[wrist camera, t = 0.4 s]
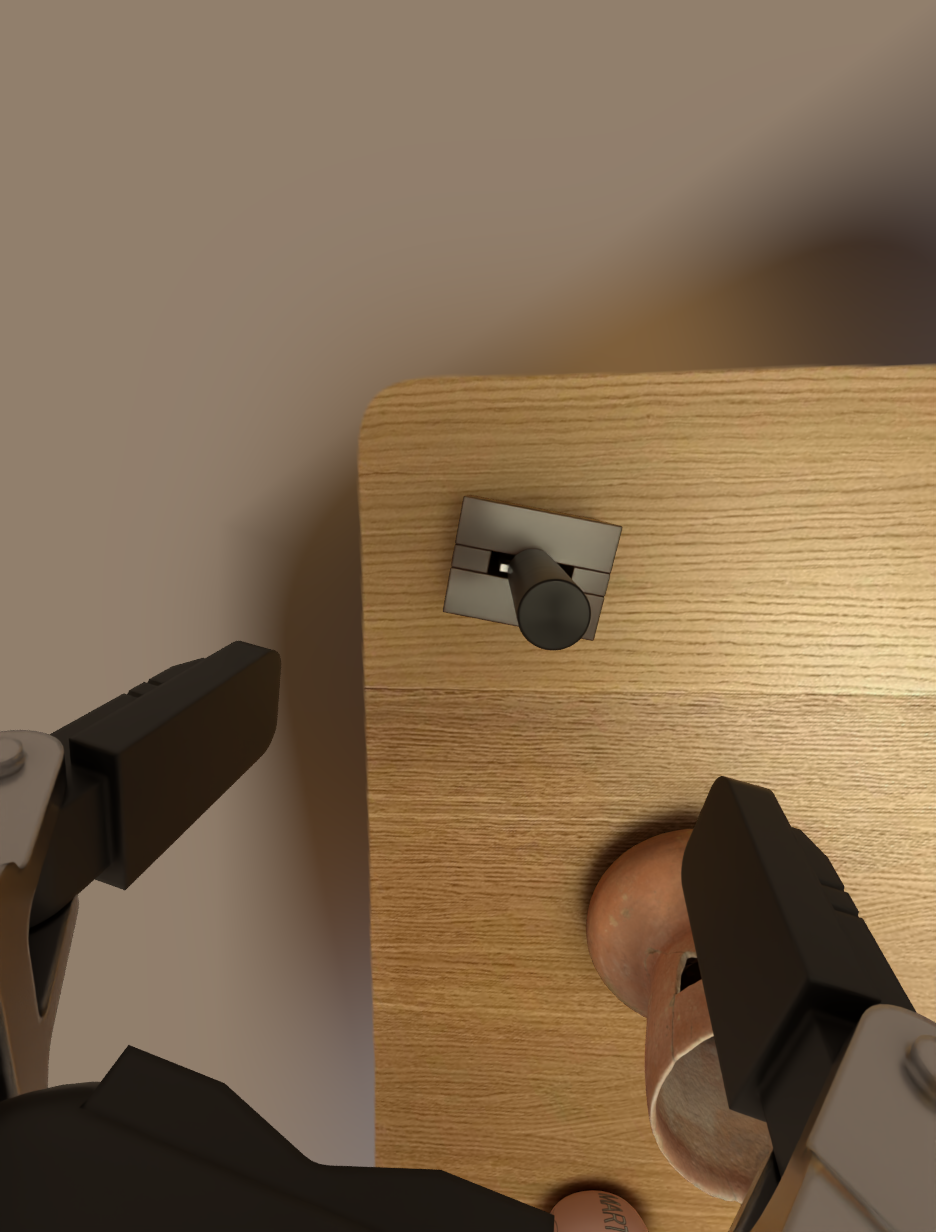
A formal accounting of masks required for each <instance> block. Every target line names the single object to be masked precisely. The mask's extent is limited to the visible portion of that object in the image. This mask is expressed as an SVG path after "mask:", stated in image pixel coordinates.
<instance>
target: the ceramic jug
mask: <svg viewBox="0 0 936 1232" xmlns="http://www.w3.org/2000/svg"><path fill="white" fill-rule="evenodd" d="M692 831H693V829H682V830H676V831H671V832H667V833H663V834H660V835H657V836H654V837H651V838H649V839H647V840H645V841H643V842H641V843H639V844H637V845H635V846H634V847H632V848H630V849H629V850H627V851H626V852H625V853H623V854H622V855H621V856H620V857H619V858H618V859H617V860H615V862H613V864H612V865H611V866H610V867H609V868H608V869H607V870H606V872H605V873H604V874H603V876H602V877H601V879H600V881H599V882H598V884H597V886H596V888H595V890H594V892H593V895H592V897H591V901H590V904H589V908H588V914H587V923H586V932H587V943H588V948H589V952H590V956H591V959H592V961H593V964H594V966H595V968H596V970H597V972H598V974H599V975H600V977H601V979H602V980H603V982H604V983H605V984H606V986H607V987H608V988H609V989H610V990H611V991H612V993H613V994H614V995H615V996H616V997H617V998H618V999H619V1000H621V1001H622V1002H623V1003H624V1004H625V1005H627V1006H628V1007H629V1008H631V1009H632V1010H634V1011H635V1012H637V1013H639V1014H640V1015H642V1016H644V1017H646V1018H647V1028H646V1043H645V1080H646V1095H647V1105H648V1113H649V1119H650V1124H651V1128H652V1132H653V1134H654V1137H655V1139H656V1142H657V1144H658V1146H659V1148H660V1150H661V1152H662V1154H663V1155H664V1156H665V1157H666V1158H667V1160H668V1162H669V1163H670V1164H671V1165H672V1166H673V1168H674V1169H675V1170H676V1171H678V1172H679V1173H680V1174H681V1175H682V1176H683V1177H684V1178H685V1179H686V1180H687V1181H688V1182H690V1183H692V1184H693V1185H694V1186H696V1187H697V1188H699V1189H700V1190H702V1191H704V1192H705V1193H707V1194H709V1195H711V1196H713V1197H717V1198H720V1199H723V1200H726V1201H737V1202H739V1203H741V1204H742V1203H743V1200H744V1198H745V1196H746V1194H747V1192H748V1190H749V1188H750V1186H751V1184H752V1182H753V1180H754V1178H755V1176H756V1174H757V1172H758V1170H759V1168H760V1166H761V1164H762V1162H763V1160H764V1159H765V1157H766V1156H767V1155H768V1153H769V1152H770V1150H771V1149H772V1147H773V1146H772V1142H771V1138H770V1134H769V1130H768V1127H767V1123H766V1122H763V1121H761V1120H758V1119H755V1118H752V1117H749V1116H747V1115H744V1114H741V1113H738V1112H735V1111H733V1110H730V1109H729V1106H728V1101H727V1097H726V1092H725V1087H724V1082H723V1078H722V1073H721V1068H720V1063H719V1059H718V1054H717V1049H716V1045H715V1040H714V1035H713V1030H712V1026H711V1021H710V1016H709V1011H708V1007H707V1002H706V997H705V993H704V988H703V983H702V978H701V974H700V969H699V964H698V960H697V955H696V950H695V945H694V941H693V936H692V931H691V926H690V922H689V917H688V912H687V908H686V903H685V898H684V893H683V889H682V882H681V867H682V860H683V855H684V851H685V848H686V845H687V842H688V840H689V838H690V835H691V833H692Z"/></svg>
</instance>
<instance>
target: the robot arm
mask: <svg viewBox="0 0 936 1232" xmlns="http://www.w3.org/2000/svg"><path fill="white" fill-rule="evenodd" d="M280 671H281V659H280V655H279V653H278V652H276V651H275V650H271V649H267V648H264V647H260V646H256V645H253V644H249V643H246V642H242V641H235V642H233V643H231V644H230V645H228V646H226V647H224V648H222V649H221V650H219V651H217V652H216V653H214V654H212V655H211V656H209V657H207V658H201V659H197V660H194V661H190V662H186V663H183V664H179V665H176V666H172V667H170V668H169V669H167V670H165V671H164V672H161V673H160V674H158V675H156V676H154V677H152V678H151V679H149V681H148V683H145V682H143V683H142V684H140V685H138V686H136V687H134V688H133V689H131V690H129V692H128V694H122V695H120V696H119V697H117V698H115V699H113V700H111V701H109V702H107V703H106V704H104V705H102V706H100V707H99V708H97V709H95V710H93V711H91V712H89V713H88V714H86V715H84V716H82V717H80V718H79V719H77V720H75V721H73V722H71V723H70V724H68V725H66V726H64V727H62V728H61V729H59V730H57V731H55V732H53V733H52V734H50V735H49V734H46V733H42V732H37V731H28V730H11V731H1V732H0V1232H554V1218H555V1215H552V1214H550V1213H547V1212H545V1211H542V1210H540V1209H537V1208H535V1207H532V1206H530V1205H527V1204H525V1203H522V1202H520V1201H517V1200H515V1199H512V1198H510V1197H507V1196H505V1195H502V1194H500V1193H497V1192H495V1191H492V1190H490V1189H487V1188H485V1187H482V1186H480V1185H477V1184H475V1183H472V1182H470V1181H467V1180H465V1179H462V1178H460V1177H457V1176H455V1175H452V1174H450V1173H447V1172H445V1171H442V1170H432V1169H406V1168H380V1167H352V1166H329V1165H322V1164H318V1163H316V1162H313V1161H311V1160H310V1159H308V1158H307V1157H306V1156H304V1155H303V1154H302V1153H301V1152H300V1151H299V1150H298V1149H297V1148H295V1147H294V1146H293V1145H292V1144H291V1143H290V1142H289V1141H288V1140H286V1138H284V1137H283V1136H282V1135H281V1134H280V1133H279V1132H278V1131H277V1130H276V1129H274V1128H273V1127H272V1126H271V1125H270V1124H269V1123H268V1122H267V1121H266V1120H265V1119H263V1118H262V1117H261V1116H260V1115H259V1114H258V1113H257V1112H256V1111H254V1110H253V1109H252V1108H251V1107H250V1106H249V1105H248V1104H247V1103H246V1102H245V1101H244V1100H242V1099H241V1098H240V1097H239V1096H238V1095H237V1094H236V1093H235V1092H234V1091H232V1090H231V1089H230V1088H229V1087H228V1086H227V1085H226V1084H225V1083H222V1082H220V1081H218V1080H215V1079H213V1078H210V1077H207V1076H205V1075H203V1074H200V1073H198V1072H195V1071H193V1070H190V1069H187V1068H185V1067H183V1066H180V1065H177V1064H175V1063H173V1062H170V1061H168V1060H165V1059H162V1058H160V1057H158V1056H155V1055H152V1054H150V1053H148V1052H145V1051H142V1050H140V1049H138V1048H135V1047H133V1046H130V1045H128V1047H127V1048H126V1049H125V1050H124V1052H123V1053H122V1054H121V1056H120V1057H119V1058H118V1060H117V1061H116V1062H115V1064H114V1065H113V1066H112V1068H111V1069H110V1071H109V1072H108V1073H107V1074H106V1076H105V1077H104V1078H103V1080H102V1081H101V1082H86V1083H76V1084H66V1085H60V1086H55V1087H51V1088H48V1063H49V1062H48V1061H49V1051H50V1043H51V1037H52V1031H53V1026H54V1022H55V1017H56V1012H57V1007H58V1003H59V998H60V994H61V988H62V984H63V980H64V975H65V970H66V966H67V960H68V956H69V951H70V947H71V942H72V937H73V933H74V928H75V924H76V919H77V914H78V908H79V900H78V894H79V893H80V892H81V891H82V890H83V889H84V888H85V887H86V886H88V885H89V884H90V883H91V882H92V881H93V880H94V879H95V880H98V881H101V882H104V883H106V884H109V885H112V886H115V887H118V888H120V889H123V890H126V889H127V888H128V887H129V886H130V885H131V884H132V883H133V882H134V881H135V880H136V879H137V878H138V877H139V876H140V875H141V874H142V873H143V872H144V871H145V870H146V869H147V868H148V867H149V866H150V865H151V864H152V863H153V862H154V861H155V860H156V859H158V857H160V856H161V855H162V854H163V853H164V852H165V851H166V850H167V849H168V848H169V847H170V846H171V845H172V844H173V843H174V842H175V841H176V840H177V839H178V838H179V837H180V836H181V835H182V834H183V833H184V832H185V831H186V830H187V829H188V828H189V827H190V826H191V825H192V824H193V823H194V822H195V821H196V820H197V819H198V818H199V817H200V816H201V815H202V814H203V813H204V812H205V811H206V810H207V809H208V808H209V807H210V806H211V805H212V804H213V803H214V802H215V801H216V800H217V799H219V798H220V797H221V796H222V794H224V793H225V792H226V791H227V790H228V789H229V788H230V787H231V786H232V785H233V784H234V783H235V782H236V781H237V780H238V779H239V778H240V777H241V776H242V775H243V774H244V773H245V772H246V771H247V770H248V769H249V768H250V767H251V766H252V765H253V764H254V763H255V762H256V761H257V760H258V759H259V758H260V757H261V756H262V755H263V754H264V753H265V751H266V750H267V748H268V747H269V745H270V743H271V741H272V738H273V736H274V733H275V730H276V725H277V715H278V699H279V686H280ZM681 882H682V889H683V893H684V898H685V903H686V908H687V912H688V917H689V922H690V926H691V931H692V936H693V941H694V945H695V950H696V955H697V960H698V964H699V969H700V974H701V978H702V983H703V988H704V993H705V997H706V1002H707V1007H708V1011H709V1016H710V1021H711V1026H712V1030H713V1035H714V1040H715V1045H716V1049H717V1054H718V1059H719V1063H720V1068H721V1073H722V1078H723V1082H724V1087H725V1092H726V1097H727V1101H728V1106H729V1109H730V1110H733V1111H735V1112H738V1113H741V1114H744V1115H747V1116H749V1117H752V1118H755V1119H758V1120H761V1121H763V1122H766V1123H767V1127H768V1130H769V1134H770V1138H771V1142H772V1146H773V1147H772V1149H771V1150H770V1152H769V1153H768V1155H767V1156H766V1157H765V1159H764V1160H763V1162H762V1164H761V1166H760V1168H759V1170H758V1172H757V1174H756V1176H755V1178H754V1180H753V1182H752V1184H751V1186H750V1188H749V1190H748V1192H747V1194H746V1196H745V1198H744V1200H743V1203H742V1205H741V1207H740V1209H739V1211H738V1213H737V1215H736V1217H735V1219H734V1221H733V1223H732V1225H731V1227H730V1229H729V1231H728V1232H936V1023H935V1022H933V1021H931V1020H930V1019H928V1018H926V1017H924V1016H922V1015H920V1014H918V1013H916V1011H915V1009H914V1007H913V1006H912V1004H911V1002H910V1000H909V999H908V997H907V995H906V993H905V992H904V990H903V988H902V986H901V985H900V983H899V981H898V979H897V978H896V976H895V974H894V972H893V971H892V969H891V967H890V965H889V964H888V962H887V960H886V958H885V957H884V955H883V953H882V951H881V950H880V948H879V946H878V944H877V943H876V941H875V939H874V937H873V936H872V934H871V932H870V930H869V929H868V927H867V925H866V923H865V922H864V920H863V918H859V917H858V913H859V911H858V909H857V908H856V906H855V904H854V902H853V901H852V899H851V897H850V895H849V894H848V893H847V892H844V885H843V883H842V881H841V880H840V878H839V876H838V874H837V873H836V871H835V869H834V867H833V866H832V864H831V862H830V861H829V859H828V857H827V856H826V855H825V854H824V853H823V852H822V851H821V850H820V849H819V848H818V847H817V846H816V845H815V844H814V843H813V842H812V841H811V840H810V839H809V838H808V837H807V836H806V835H805V834H804V833H803V832H802V831H801V830H800V829H796V828H793V827H791V826H790V824H789V822H788V820H787V818H786V816H785V814H784V812H783V811H782V809H781V807H780V805H779V803H778V801H777V799H776V797H775V795H774V794H773V792H772V791H771V790H769V789H767V788H764V787H760V786H756V785H753V784H749V783H746V782H742V781H738V780H735V779H731V778H728V777H724V776H721V777H719V778H717V779H716V780H715V782H714V783H713V785H712V787H711V789H710V791H709V794H708V796H707V798H706V801H705V803H704V805H703V808H702V810H701V812H700V815H699V817H698V819H697V822H696V824H695V826H694V828H693V831H692V833H691V835H690V838H689V840H688V842H687V845H686V848H685V851H684V855H683V860H682V867H681Z"/></svg>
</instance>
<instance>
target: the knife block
mask: <svg viewBox="0 0 936 1232" xmlns="http://www.w3.org/2000/svg"><path fill="white" fill-rule="evenodd" d="M621 531H622V526H618V525H615V524H611V523H607V522H604V521H600V520H596V519H592V518H586V517H581V516H576V515H571V514H566V513H561V512H556V511H551V510H545V509H540V508H535V507H530V506H525V505H520V504H515V503H509V502H504V501H499V500H494V499H489V498H484V497H479V496H473V495H467V496H464V498H463V503H462V508H461V514H460V519H459V525H458V530H457V536H456V541H455V543H456V544H455V547H454V552H453V558H452V563H451V569H450V574H449V580H448V585H447V590H446V596H445V601H444V607H443V612H446V613H451V614H456V615H461V616H467V617H472V618H477V619H482V620H487V621H492V622H498V623H503V624H508V625H513V626H518V627H519V625H518V622H517V617H516V613H515V608H514V604H513V599H512V595H511V590H510V586H509V581H508V573H506V572H501V571H499V565H498V559H493V558H491V554H492V551H496V552H501V553H506V554H511V555H517V554H518V553H520V552H522V551H524V550H528V549H538V550H541V551H544V552H545V553H547V554H548V555H549V556H550V557H551V558H552V559H553V560H554V561H555V562H556V563H557V564H558V565H559V566H560V567H561V568H562V569H563V570H564V571H565V572H566V574H567V575H568V576H569V577H570V578H571V579H572V580H573V581H574V582H575V583H576V584H577V585H578V586H579V587H580V588H581V589H582V590H583V592H584V593H585V594H586V596H587V598H588V600H589V603H590V607H591V620H590V624H589V627H588V629H587V631H586V633H585V634H584V635H583V637H582V638H581V639H586V640H591V641H593V640H594V637H595V633H596V629H597V625H598V621H599V617H600V613H601V609H602V605H603V602H604V596H605V594H606V590H607V586H608V582H609V578H610V574H609V573H611V570H612V566H613V562H614V559H615V555H616V551H617V547H618V543H619V539H620V535H621Z"/></svg>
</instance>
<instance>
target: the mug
mask: <svg viewBox="0 0 936 1232" xmlns="http://www.w3.org/2000/svg"><path fill="white" fill-rule="evenodd" d="M550 1214H552V1215H555V1218H554V1232H649V1231H648V1229H647V1228H646V1226H645V1224H644V1222H643V1220H642V1219H641V1217H640V1216H639V1214H638V1213H637V1212H636V1210H635V1209H634V1208H633V1207H632V1206H631V1205H630V1204H629V1203H628V1202H627V1201H626V1200H624V1199H622V1198H621V1197H619V1196H617V1195H614V1194H612V1193H609V1192H604V1191H594V1190H590V1191H581V1192H577V1193H573V1194H571V1195H569V1196H567V1197H565V1198H563V1199H562V1200H560V1201H559V1202H558V1203H557V1204H556V1205H555V1206H554V1208H553V1209H552V1211H551V1213H550Z"/></svg>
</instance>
